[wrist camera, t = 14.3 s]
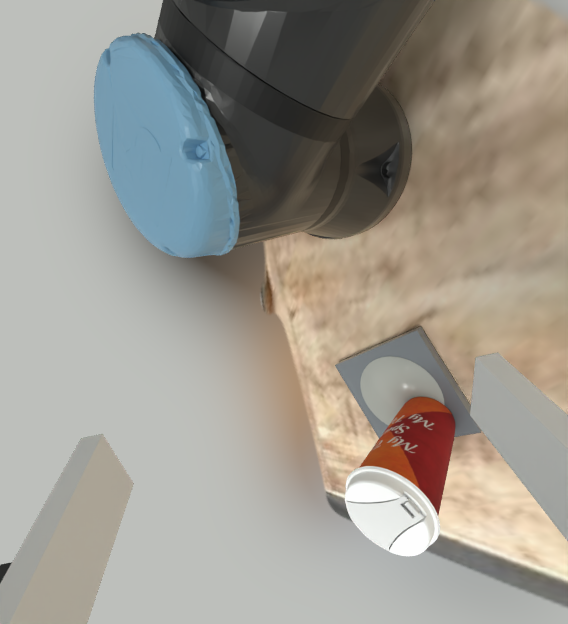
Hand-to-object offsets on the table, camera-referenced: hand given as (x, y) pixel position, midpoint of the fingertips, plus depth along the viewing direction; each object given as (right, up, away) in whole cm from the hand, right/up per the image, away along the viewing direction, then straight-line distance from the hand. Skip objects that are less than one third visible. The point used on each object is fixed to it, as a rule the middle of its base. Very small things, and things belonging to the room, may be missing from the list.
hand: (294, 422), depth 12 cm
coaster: (+13, -5, +28) cm, 31 cm away
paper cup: (+15, -8, +25) cm, 31 cm away
